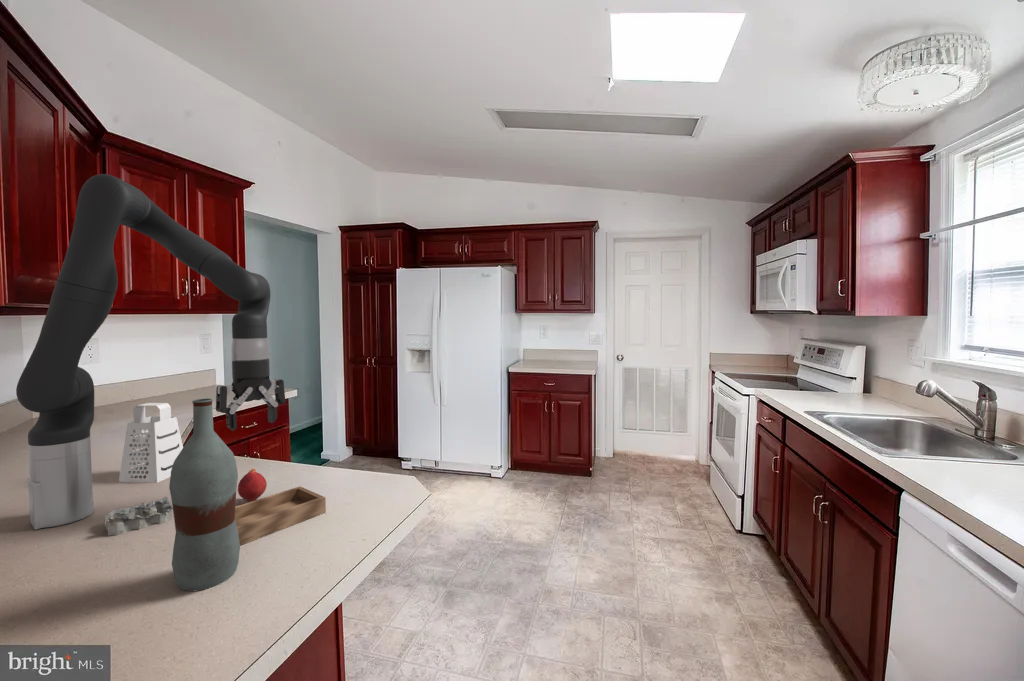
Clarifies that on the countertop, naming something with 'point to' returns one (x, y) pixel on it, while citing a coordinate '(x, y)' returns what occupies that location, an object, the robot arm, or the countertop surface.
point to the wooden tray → (277, 512)
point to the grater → (150, 445)
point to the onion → (252, 486)
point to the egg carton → (138, 516)
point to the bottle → (204, 506)
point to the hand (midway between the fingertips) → (252, 426)
